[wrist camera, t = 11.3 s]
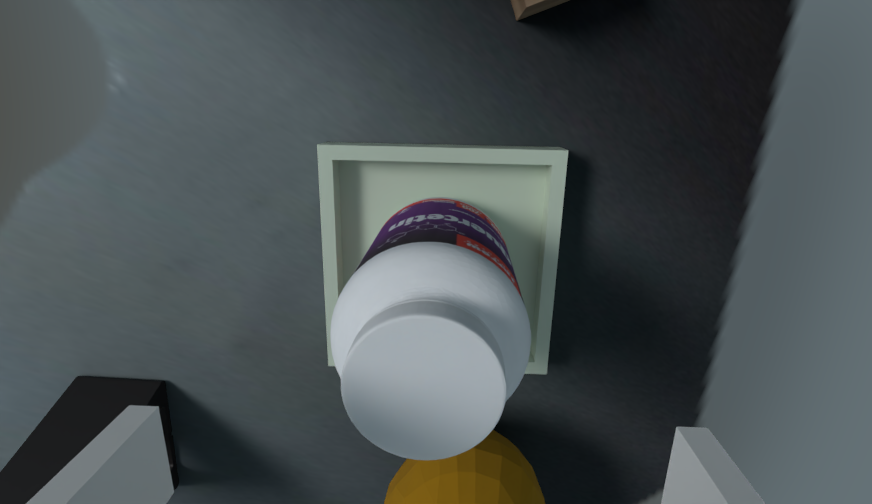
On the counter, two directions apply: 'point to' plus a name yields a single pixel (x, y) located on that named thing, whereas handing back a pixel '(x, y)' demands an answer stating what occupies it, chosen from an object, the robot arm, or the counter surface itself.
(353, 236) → the tray
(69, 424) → the phone stand
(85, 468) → the robot arm
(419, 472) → the apple
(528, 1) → the walnut block
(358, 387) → the pill bottle
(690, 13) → the counter surface
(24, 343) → the counter surface
